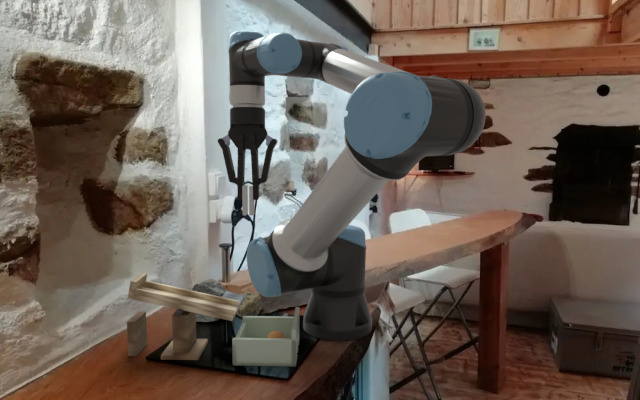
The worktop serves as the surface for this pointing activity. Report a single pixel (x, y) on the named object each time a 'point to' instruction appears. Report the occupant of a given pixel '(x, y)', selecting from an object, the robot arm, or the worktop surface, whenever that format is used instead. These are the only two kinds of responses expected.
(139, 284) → the lever
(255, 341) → the bin
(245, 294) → the rock
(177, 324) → the fulcrum
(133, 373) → the worktop surface
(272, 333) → the brown egg
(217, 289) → the stone
